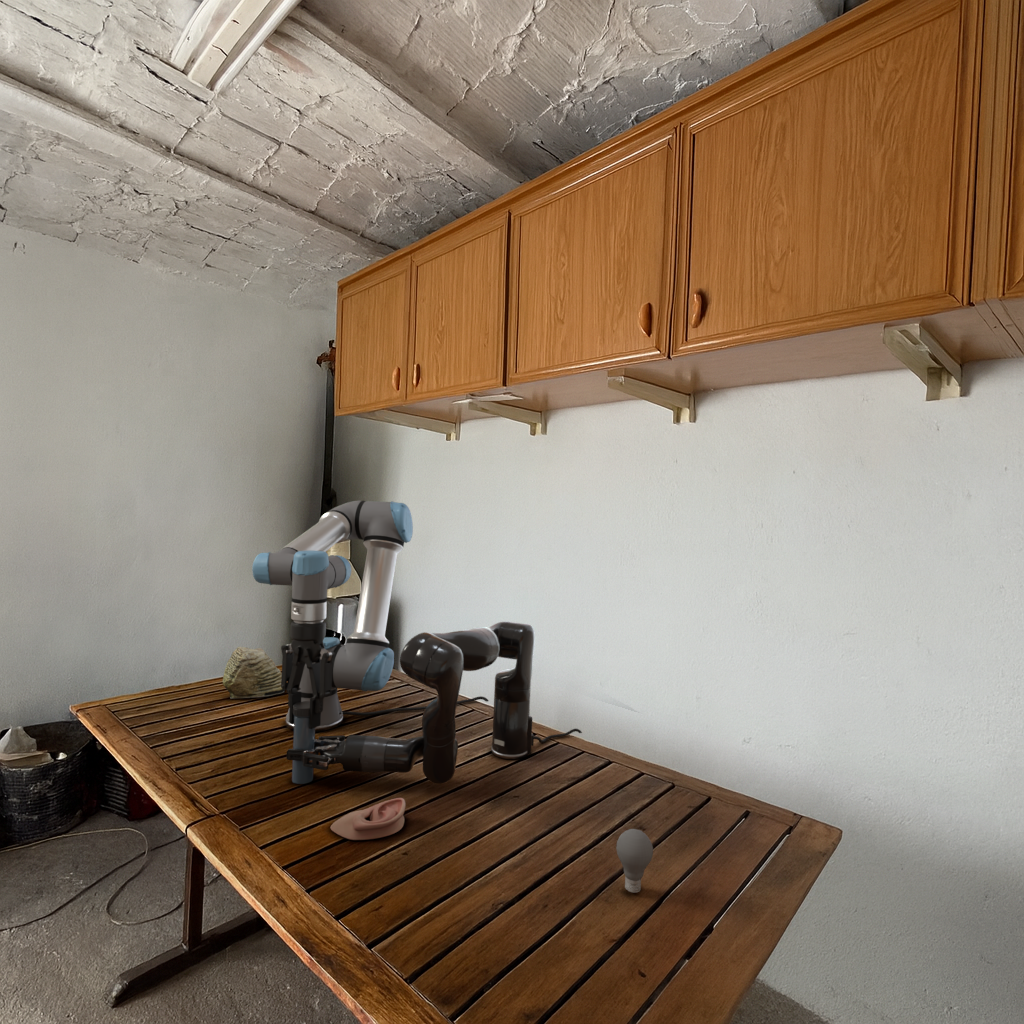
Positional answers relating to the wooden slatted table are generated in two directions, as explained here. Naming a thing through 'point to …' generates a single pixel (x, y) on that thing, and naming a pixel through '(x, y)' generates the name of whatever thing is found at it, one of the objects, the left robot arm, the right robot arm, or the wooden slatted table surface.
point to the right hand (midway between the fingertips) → (291, 749)
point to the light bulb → (634, 857)
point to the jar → (305, 741)
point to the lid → (301, 709)
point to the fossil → (251, 674)
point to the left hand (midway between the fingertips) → (304, 724)
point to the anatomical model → (372, 821)
